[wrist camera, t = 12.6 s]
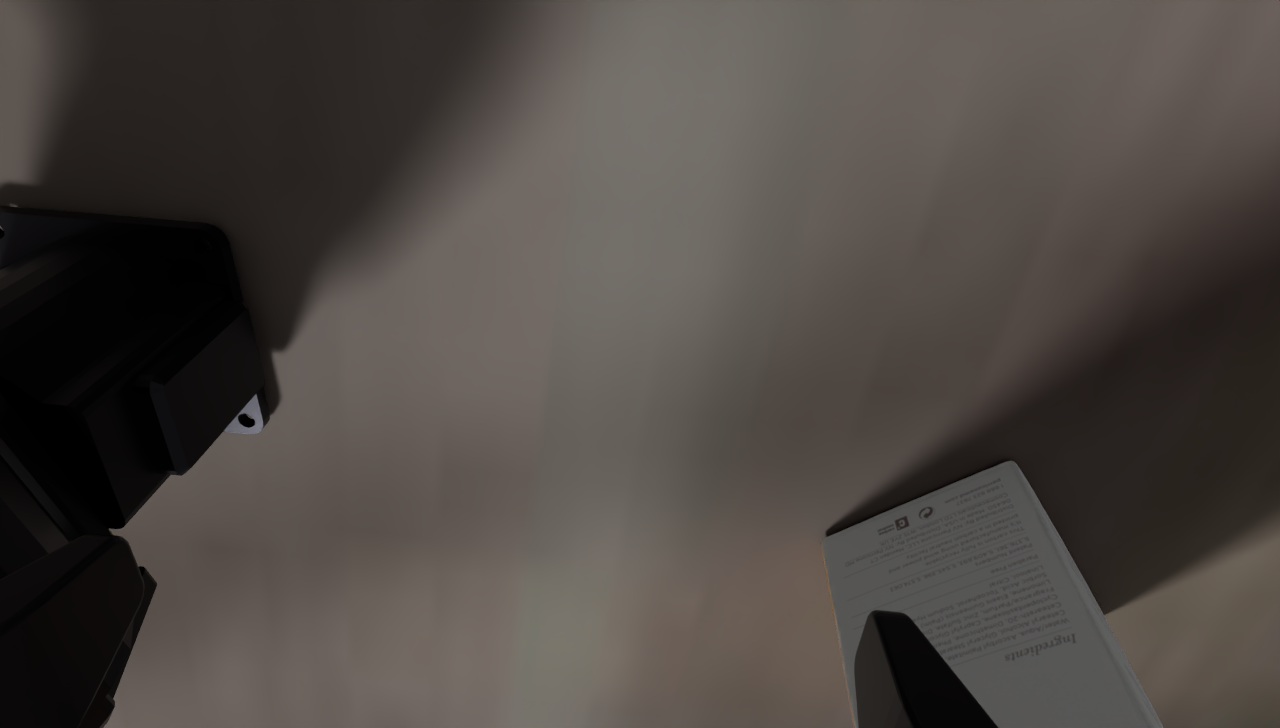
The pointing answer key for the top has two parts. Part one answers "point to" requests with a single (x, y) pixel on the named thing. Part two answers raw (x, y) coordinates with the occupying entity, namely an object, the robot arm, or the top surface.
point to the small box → (988, 604)
